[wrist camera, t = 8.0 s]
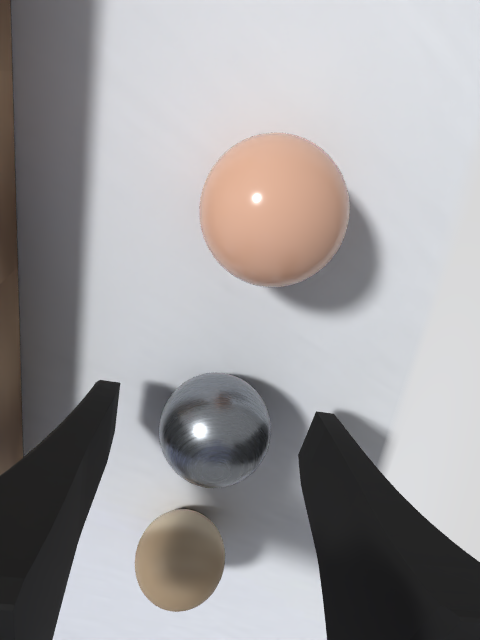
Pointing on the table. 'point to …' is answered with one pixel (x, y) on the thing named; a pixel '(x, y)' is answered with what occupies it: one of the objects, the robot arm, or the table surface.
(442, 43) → the table surface
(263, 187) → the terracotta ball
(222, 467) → the steel ball
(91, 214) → the table surface
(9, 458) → the brown flat rectangular block
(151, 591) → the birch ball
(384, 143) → the table surface
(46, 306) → the table surface
